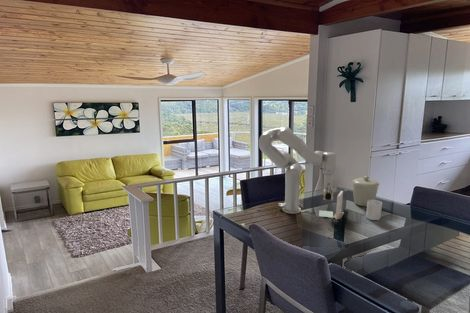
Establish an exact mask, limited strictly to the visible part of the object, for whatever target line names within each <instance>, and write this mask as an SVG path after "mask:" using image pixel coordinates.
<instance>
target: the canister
mask: <svg viewBox="0 0 470 313" xmlns="http://www.w3.org/2000/svg"><path fill="white" fill-rule="evenodd" d="M351 181H352V182H351V183H352V187H353V190H352V195H353V202H354V203H355V204H356V205H357V206H360V207H366V208H367V201H368V200H376V198H377V194H378V189H379V186H380V182H379V181H377V180H376V179H374V178H370V176H369V175H368V176H367V175H364V176H363V177H356V178H354V179H352V180H351Z"/></svg>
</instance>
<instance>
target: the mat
mask: <svg viewBox="0 0 470 313" xmlns="http://www.w3.org/2000/svg"><path fill="white" fill-rule="evenodd" d="M324 217H328V218H327V219H333V217H334V212H333V211H331V210H330V211H329V210H321V209H320V210H318V218H324Z"/></svg>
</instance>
